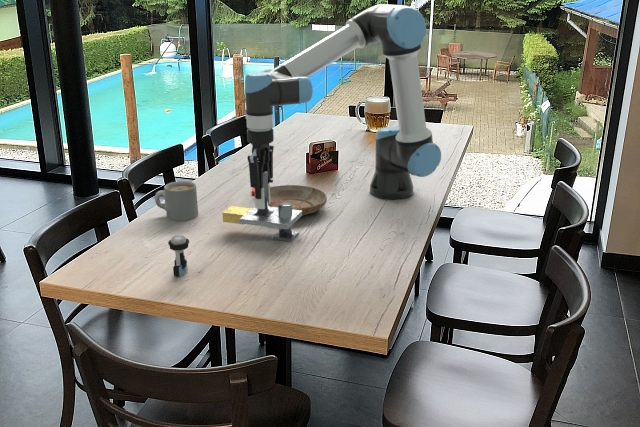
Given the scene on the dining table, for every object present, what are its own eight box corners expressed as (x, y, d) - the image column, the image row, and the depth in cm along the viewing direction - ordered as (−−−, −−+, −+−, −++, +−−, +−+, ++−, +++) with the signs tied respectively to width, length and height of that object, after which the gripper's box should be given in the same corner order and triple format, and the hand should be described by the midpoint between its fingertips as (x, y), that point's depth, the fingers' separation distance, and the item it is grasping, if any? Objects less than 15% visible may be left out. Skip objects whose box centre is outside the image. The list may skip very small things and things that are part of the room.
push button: (177, 265, 186) (174, 231, 182) (196, 267, 185) (193, 232, 181) (168, 276, 179) (164, 241, 176) (187, 278, 179) (184, 242, 175)
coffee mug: (203, 211, 224) (201, 182, 221) (189, 222, 216) (186, 192, 212) (167, 207, 228) (164, 179, 225) (151, 218, 219) (148, 188, 216)
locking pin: (270, 212, 205) (269, 170, 200) (266, 216, 202) (264, 174, 197) (260, 211, 206) (258, 169, 201) (255, 215, 203) (253, 173, 198)
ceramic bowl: (273, 228, 211) (273, 213, 209) (245, 205, 230) (244, 191, 229) (339, 215, 221) (339, 200, 219) (306, 194, 240) (306, 180, 239)
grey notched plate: (302, 230, 208) (301, 199, 205) (287, 245, 198) (286, 213, 194) (236, 222, 215) (235, 192, 212) (219, 236, 205) (217, 204, 201)
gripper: (259, 121, 203) (262, 196, 212) (235, 134, 189) (239, 214, 197) (283, 123, 201) (285, 198, 209) (260, 136, 186) (263, 217, 195)
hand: (262, 206), depth 203 cm, fingers closed on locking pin, 3 cm apart
